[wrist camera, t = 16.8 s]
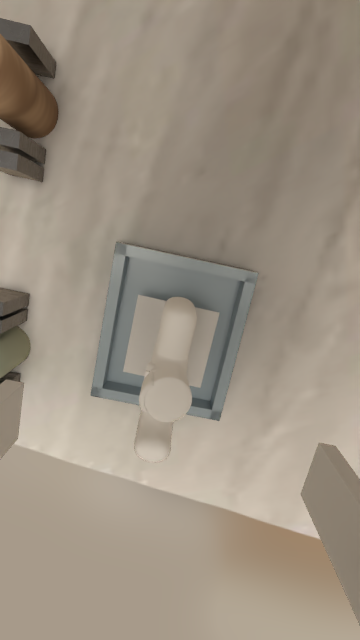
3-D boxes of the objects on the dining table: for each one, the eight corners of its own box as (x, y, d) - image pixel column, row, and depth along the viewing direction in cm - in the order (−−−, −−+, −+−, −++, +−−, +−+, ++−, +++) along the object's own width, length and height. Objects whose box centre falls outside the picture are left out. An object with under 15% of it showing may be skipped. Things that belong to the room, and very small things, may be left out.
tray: (121, 242, 32) (116, 242, 30) (252, 270, 33) (258, 273, 30) (96, 385, 35) (90, 395, 33) (216, 408, 36) (219, 420, 34)
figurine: (218, 294, 33) (249, 336, 18) (195, 382, 35) (207, 484, 20) (145, 277, 32) (115, 306, 18) (126, 368, 34) (87, 461, 20)
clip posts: (20, 54, 29) (-12, 15, 24) (56, 62, 29) (30, 25, 24) (-10, 378, 35) (-40, 400, 30) (19, 384, 35) (-7, 406, 30)
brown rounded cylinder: (10, 77, 29) (-76, -8, 19) (61, 89, 29) (1, 11, 19) (5, 131, 30) (-79, 78, 20) (54, 143, 30) (-5, 95, 20)
